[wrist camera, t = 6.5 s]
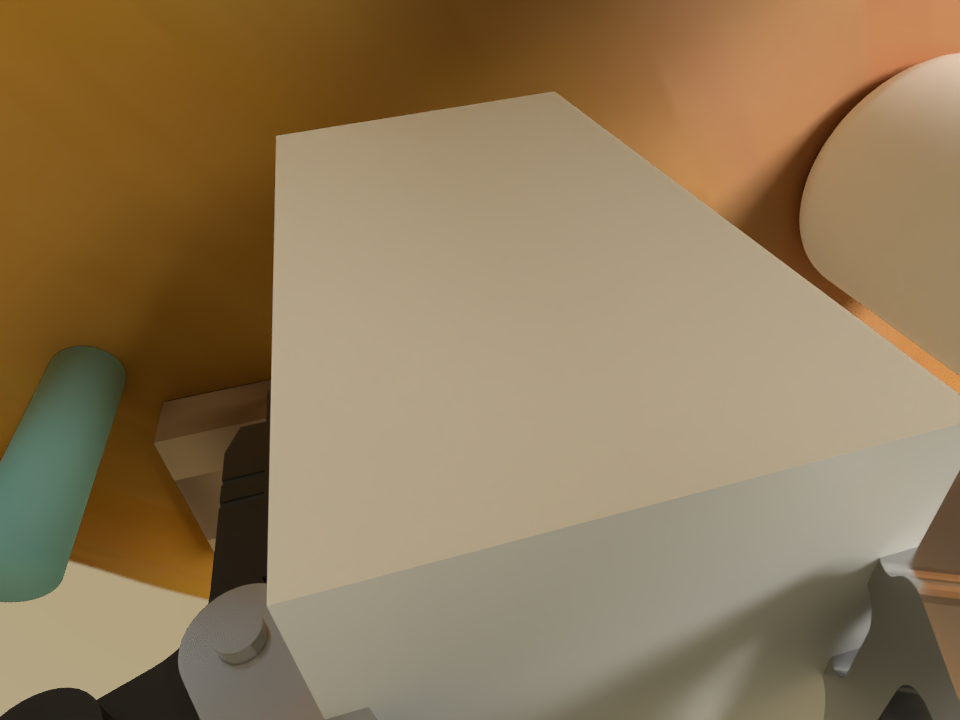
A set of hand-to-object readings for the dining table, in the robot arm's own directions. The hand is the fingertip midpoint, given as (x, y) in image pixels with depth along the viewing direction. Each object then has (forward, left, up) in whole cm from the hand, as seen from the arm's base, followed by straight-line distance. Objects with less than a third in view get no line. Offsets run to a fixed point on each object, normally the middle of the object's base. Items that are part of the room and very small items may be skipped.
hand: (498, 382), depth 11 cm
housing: (0, 0, -6) cm, 6 cm away
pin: (+13, +7, -14) cm, 20 cm away
